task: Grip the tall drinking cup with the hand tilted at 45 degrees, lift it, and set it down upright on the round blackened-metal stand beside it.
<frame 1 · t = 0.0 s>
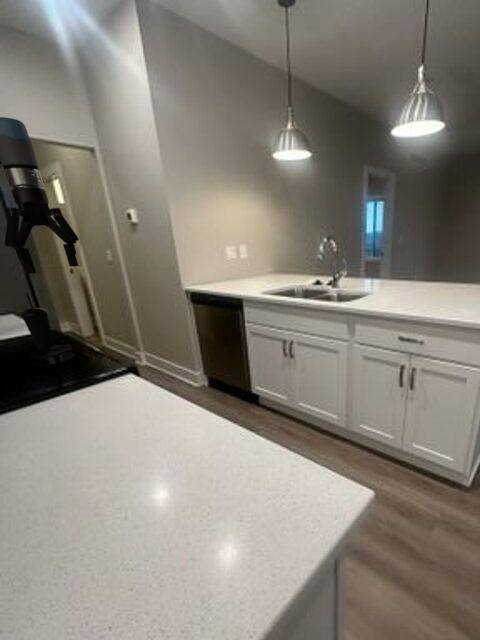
hand: (54, 269, 100), 29 cm above the counter, tool pointing down, fingers open, 13 cm apart
stand: (55, 362, 111), on the counter
drinking cup: (47, 349, 124), on the counter
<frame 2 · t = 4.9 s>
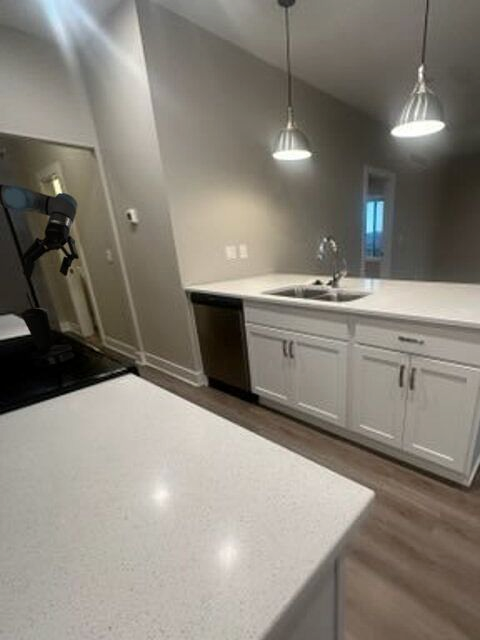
hand: (44, 274, 125), 25 cm above the counter, tool tilted 45°, fingers open, 13 cm apart
nothing on the counter moved.
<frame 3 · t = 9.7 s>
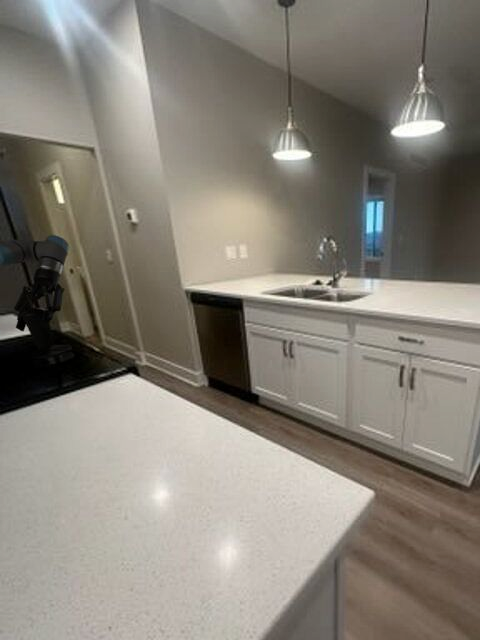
hand: (31, 328, 118), 9 cm above the counter, tool tilted 45°, fingers closed on drinking cup, 8 cm apart
drinking cup: (47, 349, 124), on the counter, touching gripper
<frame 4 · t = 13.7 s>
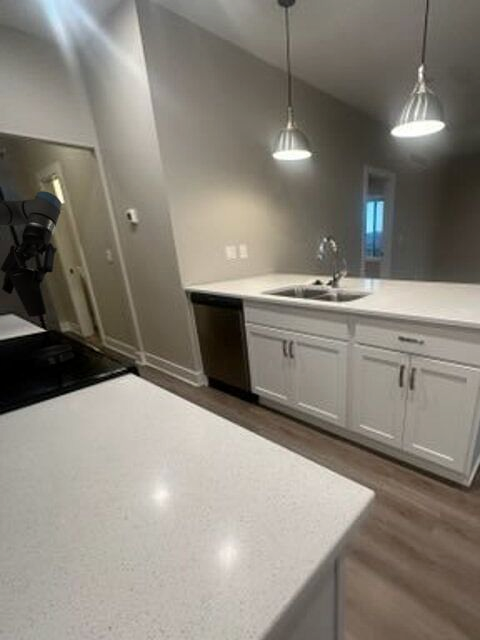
hand: (19, 290, 106), 23 cm above the counter, tool tilted 45°, fingers closed on drinking cup, 8 cm apart
drinking cup: (37, 315, 112), point 14 cm above the counter, touching gripper
when the fingers open (13 cm above the counter, at t = 18.1 s): drinking cup stays where it is, resting on stand.
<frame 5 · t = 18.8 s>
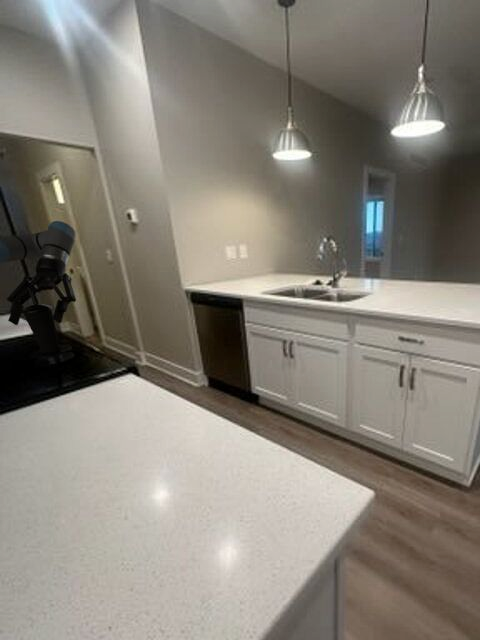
hand: (34, 321, 103), 14 cm above the counter, tool tilted 45°, fingers open, 13 cm apart
drinking cup: (51, 351, 110), point 4 cm above the counter, touching stand
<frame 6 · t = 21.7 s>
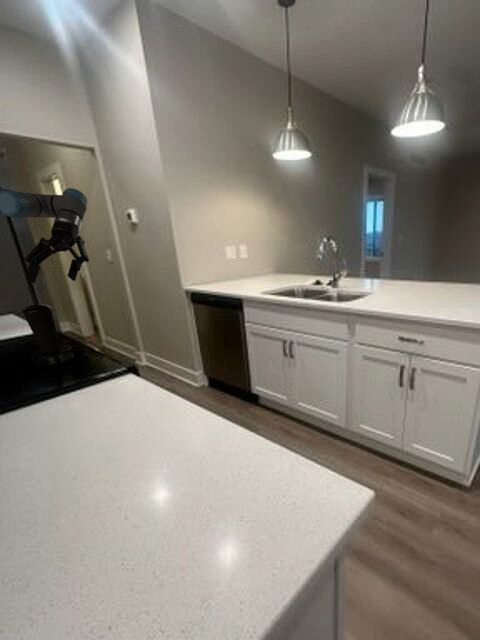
hand: (50, 279, 111), 25 cm above the counter, tool tilted 45°, fingers open, 13 cm apart
nothing on the counter moved.
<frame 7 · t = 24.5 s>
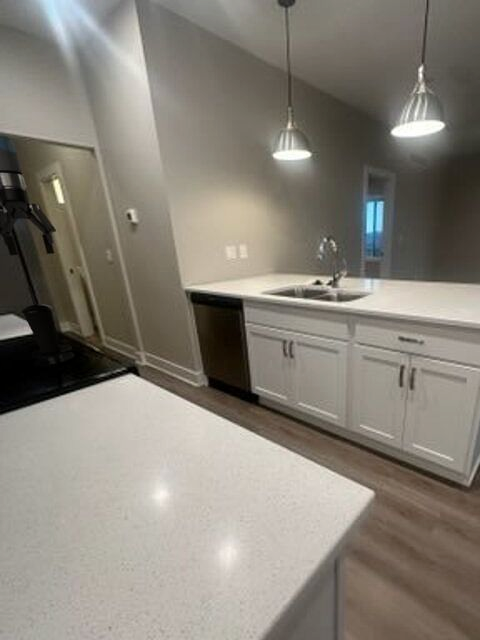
hand: (32, 254, 124), 32 cm above the counter, tool pointing down, fingers open, 13 cm apart
nothing on the counter moved.
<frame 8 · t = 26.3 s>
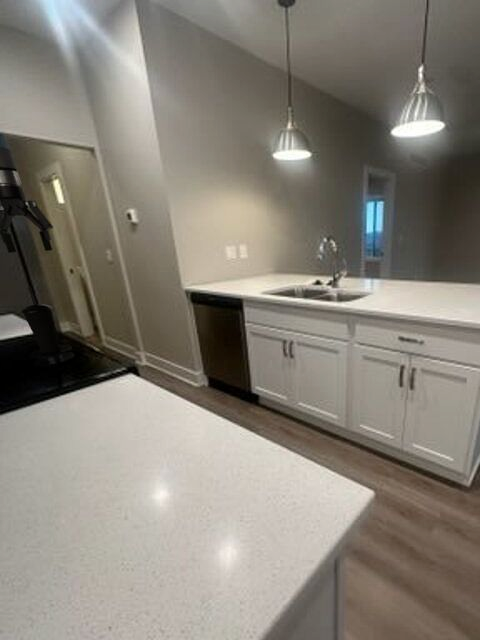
hand: (30, 251, 124), 33 cm above the counter, tool pointing down, fingers open, 13 cm apart
nothing on the counter moved.
at the end: drinking cup 0.1 cm off-centre on the stand, point 3.8 cm above the stand's base; drinking cup tilted 0°; the gripper is holding nothing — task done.
